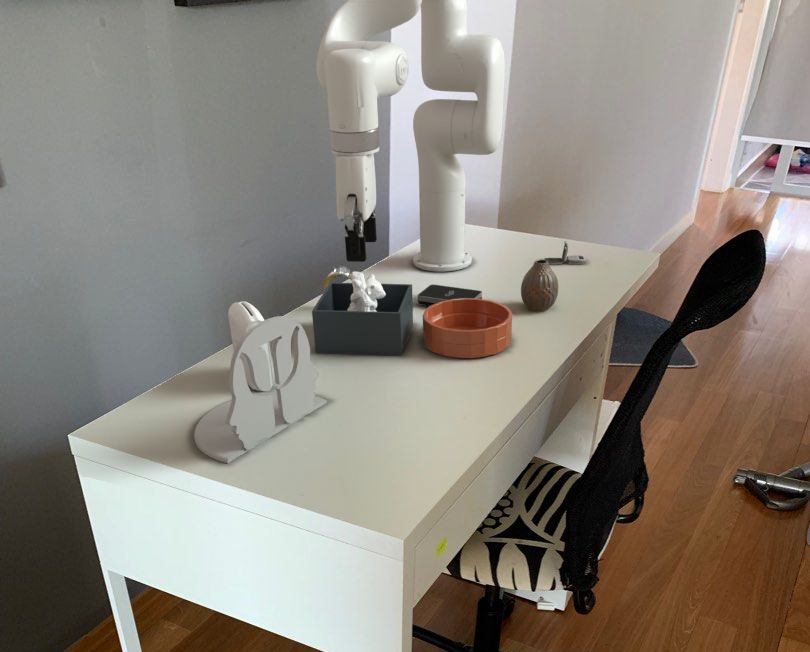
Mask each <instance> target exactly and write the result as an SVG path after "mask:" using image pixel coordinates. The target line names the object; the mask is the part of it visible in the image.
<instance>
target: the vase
mask: <svg viewBox="0 0 810 652" xmlns="http://www.w3.org/2000/svg"><path fill="white" fill-rule="evenodd" d="M548 262H549V261H548V260H544V259H536V260H534V263H533V265H531V267H530V268H529V269H528V271H527V272H526V273H525V275H524V276H523V278H522V281H521V284H520V297H521V301H522V303H523V304H524V306H525V307H526V308H527V309H528V310H529V311H532V312H545V311H547V310H549V309H551V308H552V307H553V306H554V304H555V303H556V301H557V298H558V294H559V280H558V278H557V274H556V273H555V271H554V270H553V269H552V268H551V266H550V264H549V263H548Z"/></svg>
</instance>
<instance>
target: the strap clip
mask: <svg viewBox="0 0 810 652" xmlns="http://www.w3.org/2000/svg"><path fill="white" fill-rule="evenodd" d="M563 243H564V245H563V251H562V253H561V254H562V255H561V257H545V258H544V259H543V260H547V261H548V263H549V265H563V264H564V263H565V262H566V264H568V265H583V264H586V261H587V260H586V257H585V256H583V255H580V254H579V255H577V254H575V255H574V254H573V255H568V253H569V243H568V241H567V240H564V241H563Z"/></svg>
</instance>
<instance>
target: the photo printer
mask: <svg viewBox="0 0 810 652" xmlns="http://www.w3.org/2000/svg"><path fill="white" fill-rule="evenodd" d="M227 317H228V324H229V330H230V337H231V342H232V349H233V352H234V351H235V348H236V346H237V344H238V342H239V341H240V339H241V338H242V337H243V336H244V335H245V333H246V332H247V331H248V330H249V329H251V328H252V327H253V326H255V325H257V324H258V323H260V322H262V321H264V320H265V319H264V317H263V315H262V314H261V312H260V311H259V310H258V309H257V308H256V307H255V306H254V305H253V304H251V303H249V302H248V301H245V300H241V301H238V302H237V301H235V302H233V303H232V304H231V305H230V306H229V308H228V312H227ZM270 345H271V344H270V342H267V343H265V344H263V345H261V346H259V348H262V349H264V350H265V351H266V354H267V357H268V363H269V372H270V381H271V388H273V386H275V374H274V366H273V359H272V351H271V346H270ZM239 358H240V359H241V360H242V362H243V366H244V371H245V377H246V381H247V384H248V387H249V388H251V389H252V390H253V391H254V390H255V391H262V390H259V389H257V388H256V387H255V386H254V385H253V383H252V380H251V377H250V370H249V366H248V362H247V359H246V357H245V356H244V354H242V353H241V354H240V357H239Z"/></svg>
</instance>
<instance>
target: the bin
mask: <svg viewBox="0 0 810 652" xmlns="http://www.w3.org/2000/svg"><path fill="white" fill-rule="evenodd" d="M380 284H381V286H382V288H383V290H384V292H385V294H386V295H385V296H384V298H381V299H376V300H377V308H376V309H375V310H376V311H377V312H367V311H347V309H348V308H349V307H350V304H351V299H350V298H351V295H352V294H353V284H352V282H329V285H328V286H327V288H326V290H325V291H324V290H323V293H322V294H321V296H320V297H319V299H318V301H317V302H316V303H315V304H314V305H315V306H314V307H313V309H312V310H311V317H312V328H313V337H314V348H315V349H314V350H315V353H316V354H334V355H335V354H336V355H363V356H364V355H367V356H368V355H369V356H395V357H402V356H403V353H404V351H405V348H406V346H407V343H408V339H409V337H410V334H411V333H412V328H413V326H414V306H413V305H414V301H413V284H411V283H380Z"/></svg>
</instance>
